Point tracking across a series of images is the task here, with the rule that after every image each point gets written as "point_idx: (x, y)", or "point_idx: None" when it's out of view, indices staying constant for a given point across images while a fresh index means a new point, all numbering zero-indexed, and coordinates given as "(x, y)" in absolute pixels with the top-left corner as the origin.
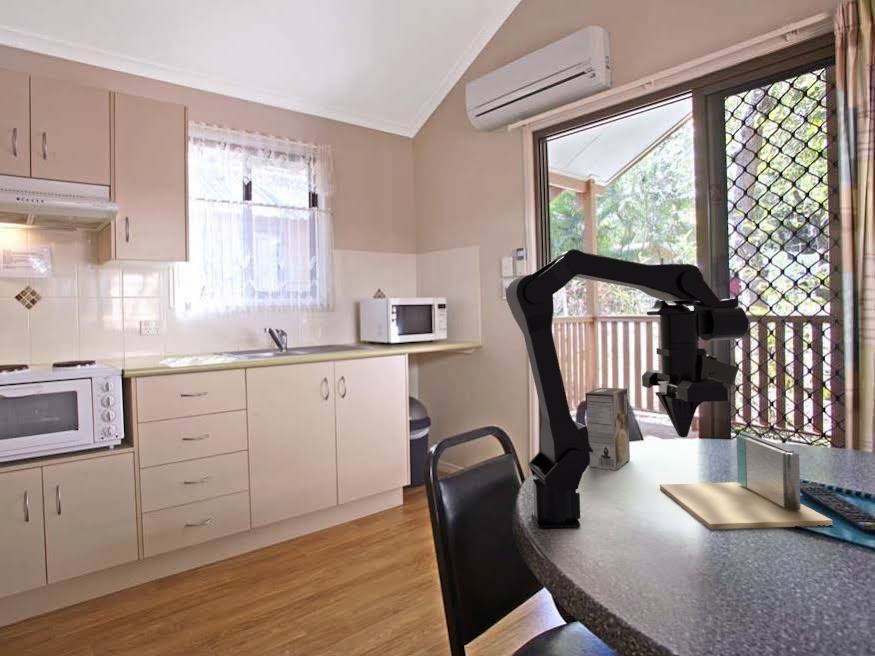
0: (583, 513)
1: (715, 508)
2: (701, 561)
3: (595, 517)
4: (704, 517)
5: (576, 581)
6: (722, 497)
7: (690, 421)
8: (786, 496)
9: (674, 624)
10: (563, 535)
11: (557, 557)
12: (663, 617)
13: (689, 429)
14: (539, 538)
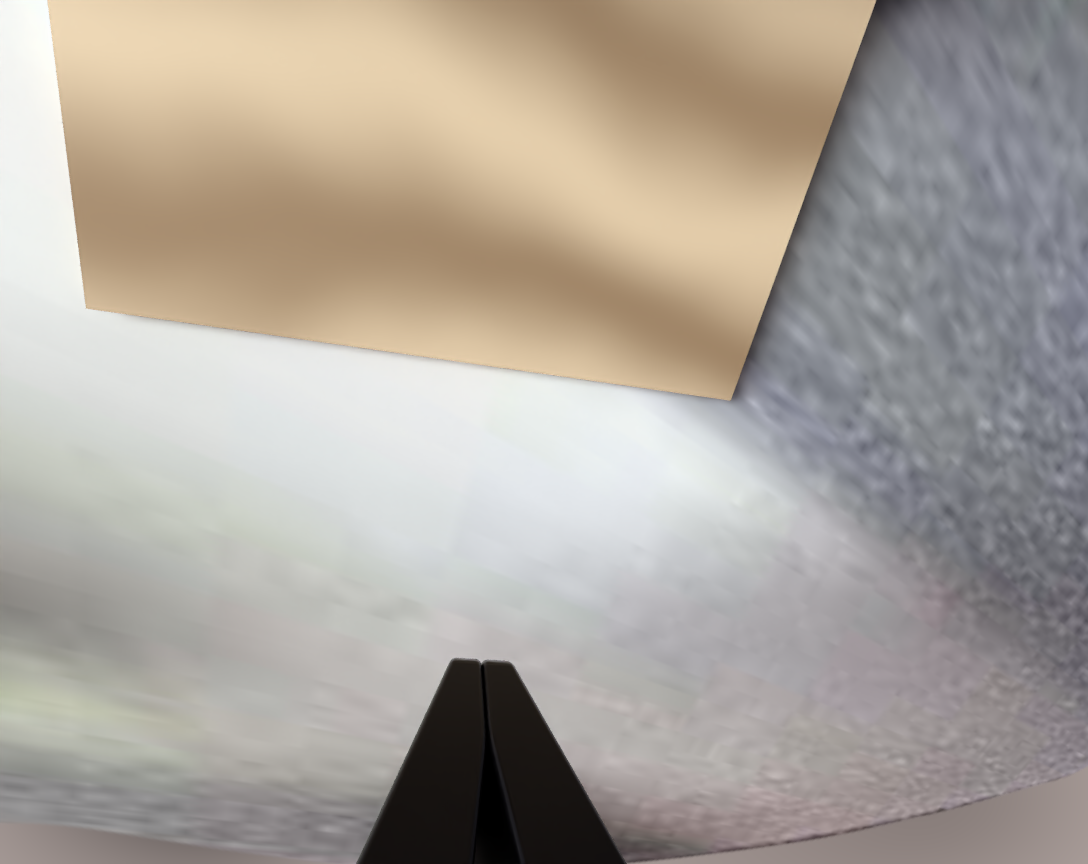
0: None
1: (573, 242)
2: (902, 561)
3: None
4: (658, 376)
5: (824, 829)
6: (408, 47)
7: (608, 854)
8: None
9: (1057, 735)
10: None
11: (703, 839)
12: (1028, 742)
13: (548, 729)
14: None
